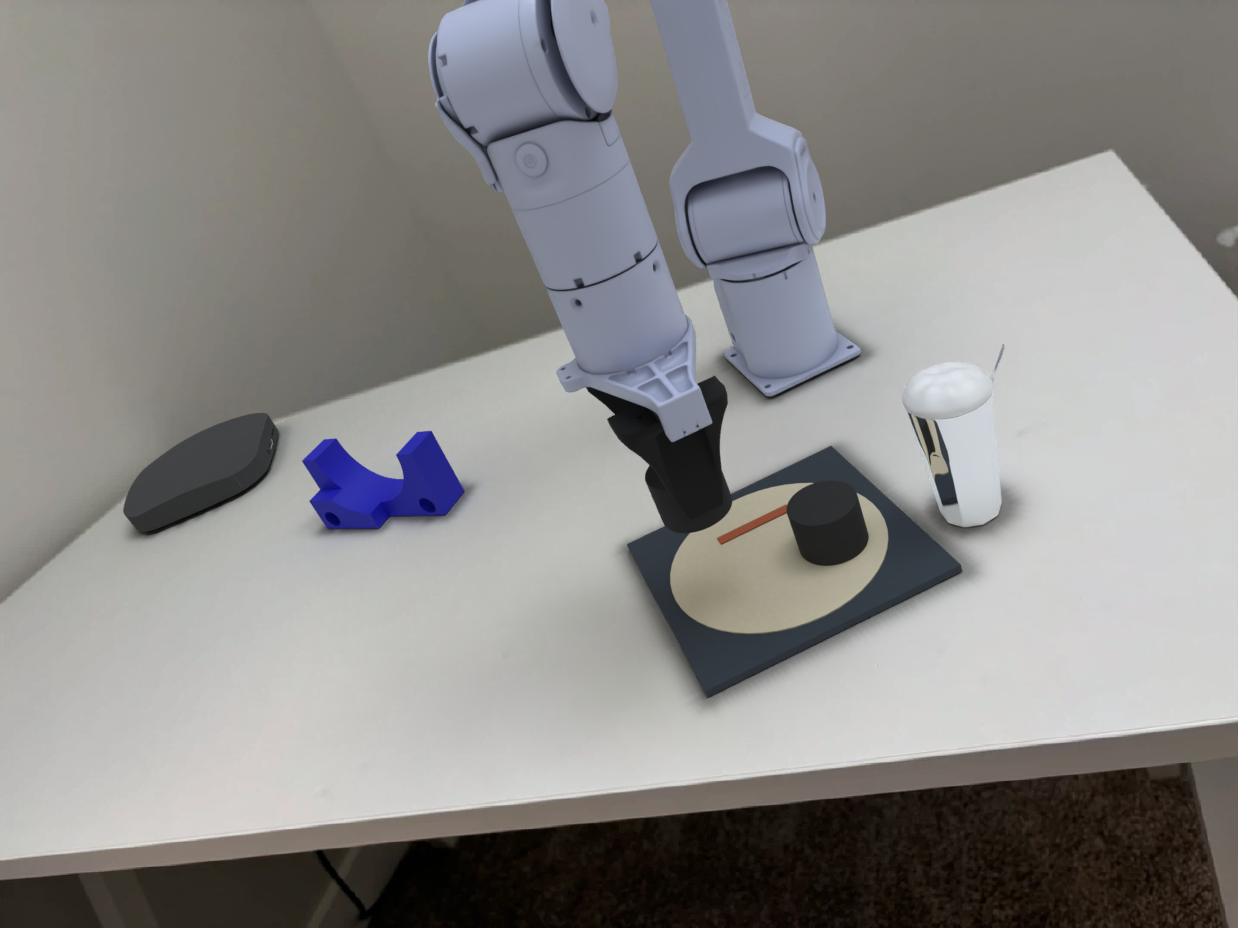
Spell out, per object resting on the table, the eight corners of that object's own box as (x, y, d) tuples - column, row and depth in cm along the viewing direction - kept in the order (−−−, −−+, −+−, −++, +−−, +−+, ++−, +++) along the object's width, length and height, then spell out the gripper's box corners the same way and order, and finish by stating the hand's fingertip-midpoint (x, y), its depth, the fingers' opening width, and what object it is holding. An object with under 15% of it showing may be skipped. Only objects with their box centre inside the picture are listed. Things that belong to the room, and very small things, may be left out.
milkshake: (1036, 526, 51) (1010, 368, 46) (932, 541, 53) (896, 391, 48) (1023, 475, 54) (998, 324, 49) (926, 491, 56) (892, 347, 51)
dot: (788, 540, 56) (774, 500, 55) (848, 510, 56) (836, 470, 55) (818, 576, 53) (804, 535, 51) (882, 544, 53) (870, 503, 51)
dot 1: (653, 508, 53) (635, 465, 52) (717, 477, 54) (701, 434, 52) (675, 544, 50) (657, 499, 48) (743, 511, 50) (727, 466, 49)
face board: (628, 549, 62) (625, 541, 62) (832, 451, 63) (830, 442, 63) (707, 697, 49) (703, 688, 49) (962, 571, 50) (960, 561, 50)
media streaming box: (128, 545, 91) (109, 522, 90) (162, 473, 104) (145, 452, 102) (268, 485, 91) (251, 460, 90) (284, 420, 104) (270, 398, 102)
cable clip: (327, 528, 80) (290, 472, 77) (358, 494, 83) (323, 439, 80) (435, 527, 73) (399, 466, 70) (464, 491, 76) (431, 430, 73)
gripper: (498, 258, 50) (591, 462, 57) (553, 348, 38) (663, 595, 45) (619, 203, 51) (696, 412, 58) (712, 273, 38) (797, 530, 45)
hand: (690, 488), depth 51 cm, fingers closed on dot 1, 4 cm apart
